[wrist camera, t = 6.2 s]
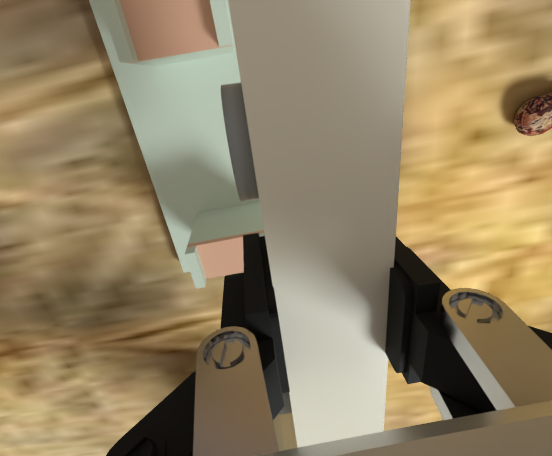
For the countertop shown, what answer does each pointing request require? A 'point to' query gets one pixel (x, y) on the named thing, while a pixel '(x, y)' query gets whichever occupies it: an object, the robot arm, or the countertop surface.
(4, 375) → the countertop surface
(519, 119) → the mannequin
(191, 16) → the display stand
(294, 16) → the cream rectangular beam
